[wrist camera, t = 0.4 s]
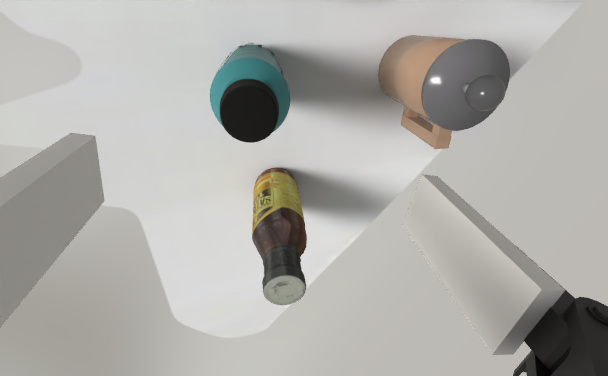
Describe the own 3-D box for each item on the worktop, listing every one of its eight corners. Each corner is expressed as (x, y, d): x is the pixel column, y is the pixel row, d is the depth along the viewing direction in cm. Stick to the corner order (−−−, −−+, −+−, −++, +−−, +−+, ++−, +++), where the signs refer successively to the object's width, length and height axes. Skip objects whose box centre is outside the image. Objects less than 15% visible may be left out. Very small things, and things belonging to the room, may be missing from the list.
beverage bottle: (282, 45, 36) (304, 66, 19) (277, 101, 39) (293, 164, 22) (225, 38, 35) (195, 54, 18) (225, 96, 38) (199, 159, 21)
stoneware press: (382, 34, 37) (462, 42, 23) (444, 34, 38) (561, 42, 24) (372, 121, 42) (432, 173, 28) (427, 119, 43) (514, 168, 29)
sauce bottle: (260, 160, 43) (263, 254, 26) (302, 172, 45) (330, 267, 27) (248, 199, 46) (242, 307, 28) (287, 209, 47) (305, 316, 30)
